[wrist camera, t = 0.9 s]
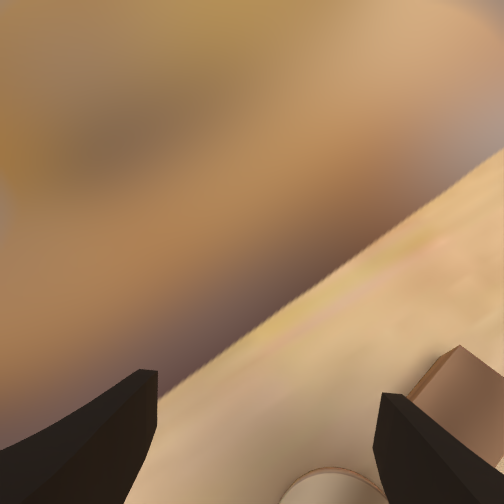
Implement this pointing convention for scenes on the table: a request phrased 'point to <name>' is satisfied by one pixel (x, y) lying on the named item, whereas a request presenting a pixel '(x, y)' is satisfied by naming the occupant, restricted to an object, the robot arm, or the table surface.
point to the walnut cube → (465, 402)
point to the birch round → (333, 488)
